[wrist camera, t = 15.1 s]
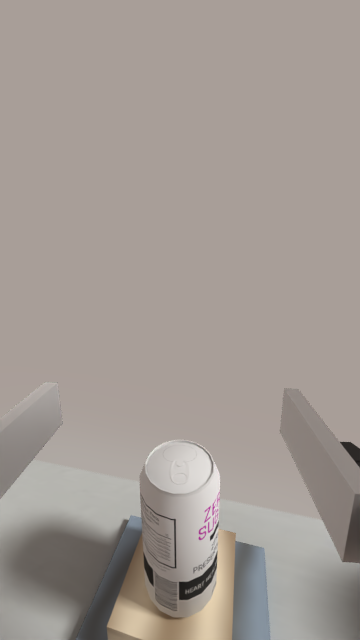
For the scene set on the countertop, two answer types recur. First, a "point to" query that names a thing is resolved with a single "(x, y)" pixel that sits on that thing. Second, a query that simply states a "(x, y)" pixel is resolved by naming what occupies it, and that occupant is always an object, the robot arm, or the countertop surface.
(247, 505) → the countertop surface
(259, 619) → the base
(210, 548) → the supplement can
